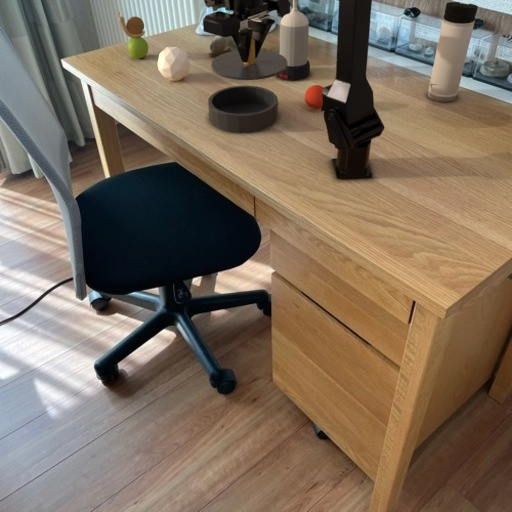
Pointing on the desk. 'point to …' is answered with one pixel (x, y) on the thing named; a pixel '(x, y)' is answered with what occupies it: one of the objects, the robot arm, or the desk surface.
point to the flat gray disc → (249, 65)
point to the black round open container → (243, 109)
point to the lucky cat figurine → (222, 45)
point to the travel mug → (451, 51)
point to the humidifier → (294, 45)
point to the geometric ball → (173, 63)
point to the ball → (314, 96)
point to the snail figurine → (135, 36)
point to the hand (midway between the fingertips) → (249, 60)
